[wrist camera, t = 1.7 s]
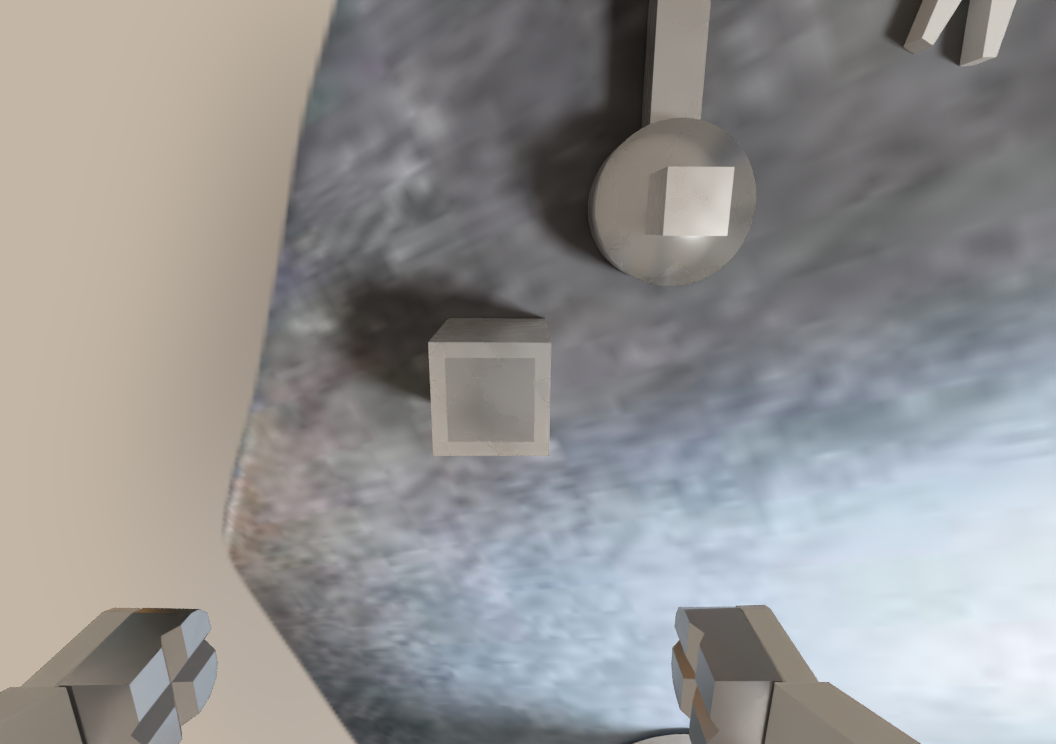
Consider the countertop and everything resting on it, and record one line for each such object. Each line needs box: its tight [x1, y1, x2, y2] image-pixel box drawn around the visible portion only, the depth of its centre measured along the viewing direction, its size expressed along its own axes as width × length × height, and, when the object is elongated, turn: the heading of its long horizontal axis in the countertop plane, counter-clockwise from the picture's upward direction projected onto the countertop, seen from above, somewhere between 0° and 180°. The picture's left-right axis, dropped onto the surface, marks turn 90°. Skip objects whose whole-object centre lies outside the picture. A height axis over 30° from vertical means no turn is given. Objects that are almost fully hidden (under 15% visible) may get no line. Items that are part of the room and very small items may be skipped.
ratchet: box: [587, 0, 756, 286], centre depth 21 cm, size 22×7×6 cm, turn 0°
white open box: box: [428, 318, 551, 456], centre depth 25 cm, size 5×5×6 cm
